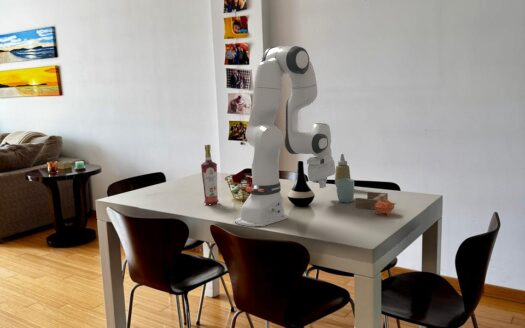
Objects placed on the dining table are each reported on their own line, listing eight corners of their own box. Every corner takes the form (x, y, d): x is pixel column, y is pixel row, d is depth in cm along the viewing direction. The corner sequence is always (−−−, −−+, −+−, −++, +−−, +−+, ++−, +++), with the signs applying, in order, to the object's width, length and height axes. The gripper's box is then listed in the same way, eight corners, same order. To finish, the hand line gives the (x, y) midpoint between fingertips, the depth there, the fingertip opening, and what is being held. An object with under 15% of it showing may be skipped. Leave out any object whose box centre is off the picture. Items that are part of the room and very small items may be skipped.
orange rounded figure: (375, 217, 196) (374, 200, 197) (374, 216, 204) (372, 199, 205) (396, 216, 195) (395, 199, 196) (393, 215, 203) (392, 198, 203)
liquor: (218, 201, 236) (214, 143, 231) (220, 205, 229) (216, 145, 224) (202, 203, 234) (198, 144, 230) (204, 206, 227) (200, 146, 223)
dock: (375, 209, 208) (375, 200, 207) (355, 207, 213) (355, 198, 213) (387, 202, 219) (387, 193, 219) (368, 200, 225) (368, 191, 224)
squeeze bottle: (331, 189, 249) (330, 154, 246) (342, 187, 254) (341, 152, 251) (344, 192, 242) (343, 155, 239) (354, 189, 248) (353, 153, 245)
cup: (354, 204, 219) (353, 182, 217) (336, 204, 221) (336, 182, 219) (354, 199, 226) (354, 178, 225) (337, 199, 228) (336, 178, 226)
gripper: (326, 154, 237) (327, 182, 239) (304, 161, 221) (306, 191, 223) (338, 155, 234) (338, 183, 236) (317, 162, 217) (318, 192, 219)
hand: (322, 187), depth 229 cm, fingers closed
